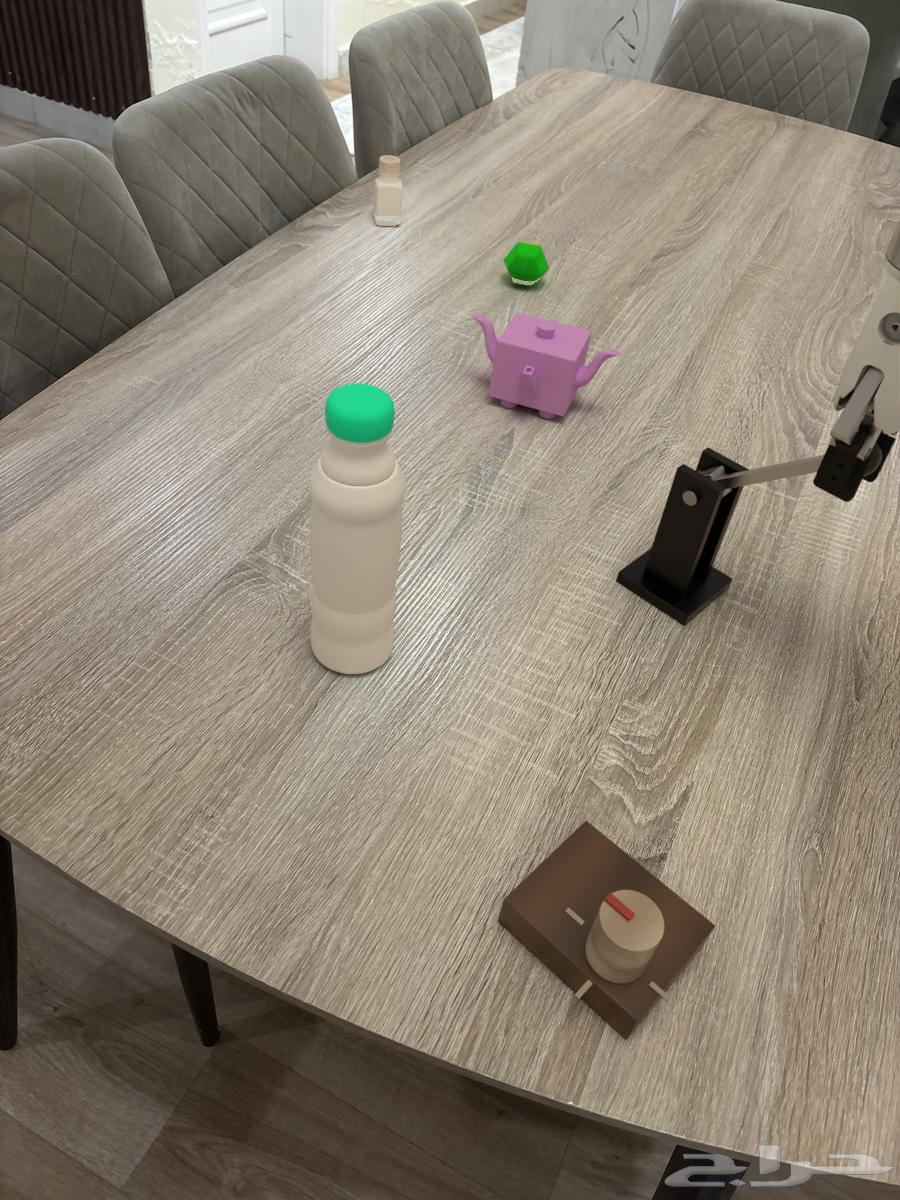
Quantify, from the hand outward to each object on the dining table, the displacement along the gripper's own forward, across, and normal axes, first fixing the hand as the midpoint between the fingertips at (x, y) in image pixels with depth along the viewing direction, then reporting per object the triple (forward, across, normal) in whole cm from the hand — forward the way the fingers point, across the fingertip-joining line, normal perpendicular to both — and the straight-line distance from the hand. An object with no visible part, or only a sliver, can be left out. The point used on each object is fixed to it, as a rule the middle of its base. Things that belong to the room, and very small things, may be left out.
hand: (844, 480), depth 73 cm
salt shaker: (+17, +35, +89) cm, 97 cm away
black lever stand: (+19, 0, +11) cm, 21 cm away
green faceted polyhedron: (+18, +38, +63) cm, 76 cm away
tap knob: (+16, -36, -9) cm, 40 cm away
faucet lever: (+3, 0, +4) cm, 5 cm away
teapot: (+18, +14, +41) cm, 47 cm away
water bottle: (+19, -29, +25) cm, 42 cm away
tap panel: (+19, -34, -6) cm, 39 cm away
